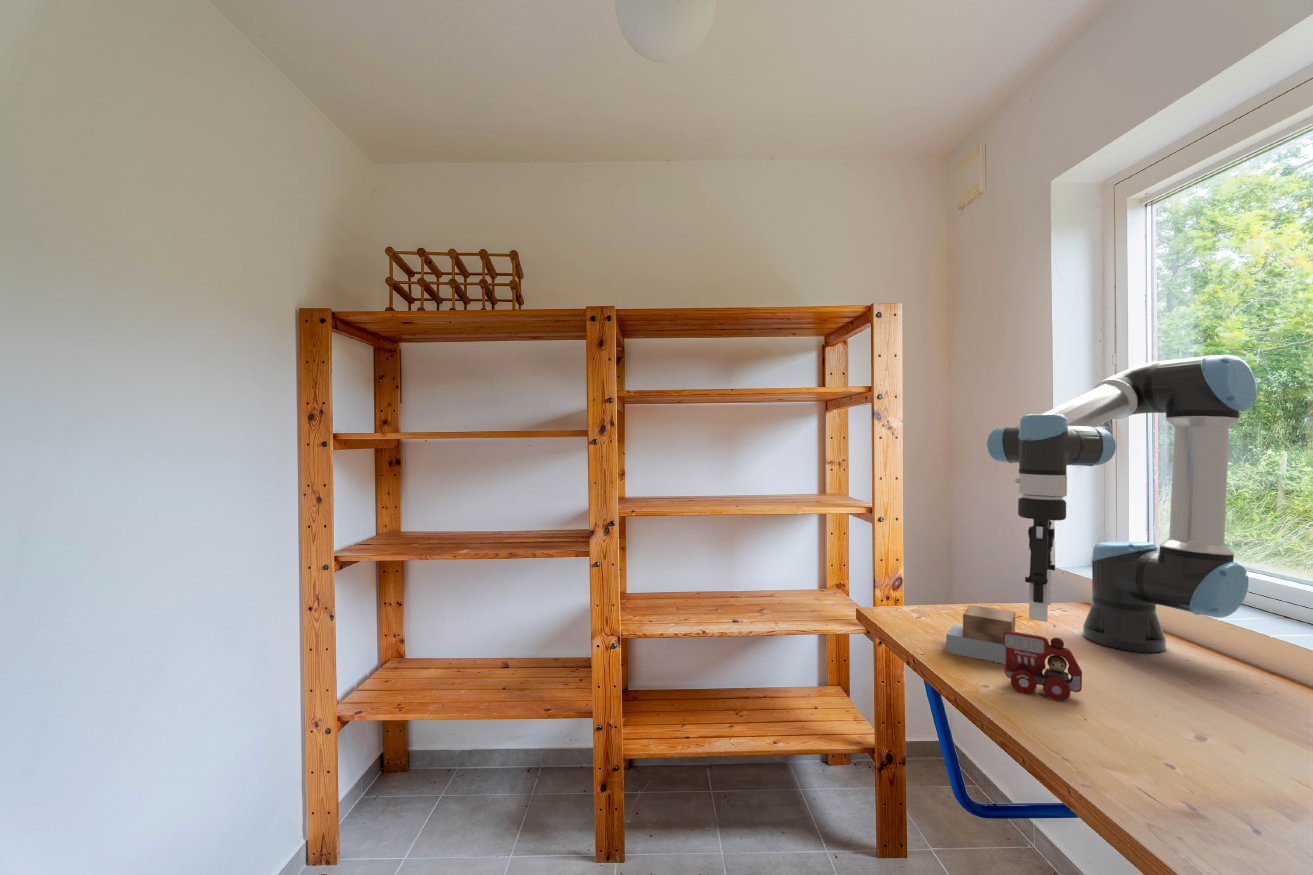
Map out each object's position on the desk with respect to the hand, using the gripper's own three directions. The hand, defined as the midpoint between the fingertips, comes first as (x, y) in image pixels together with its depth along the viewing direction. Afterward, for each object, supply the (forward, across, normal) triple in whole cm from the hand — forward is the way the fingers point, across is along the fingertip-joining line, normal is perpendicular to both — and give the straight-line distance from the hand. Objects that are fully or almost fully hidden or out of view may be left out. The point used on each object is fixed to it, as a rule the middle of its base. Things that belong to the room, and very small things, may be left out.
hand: (1040, 611), depth 110 cm
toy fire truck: (+15, 0, 0) cm, 15 cm away
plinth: (+15, -16, -10) cm, 24 cm away
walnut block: (+11, -16, -10) cm, 22 cm away
